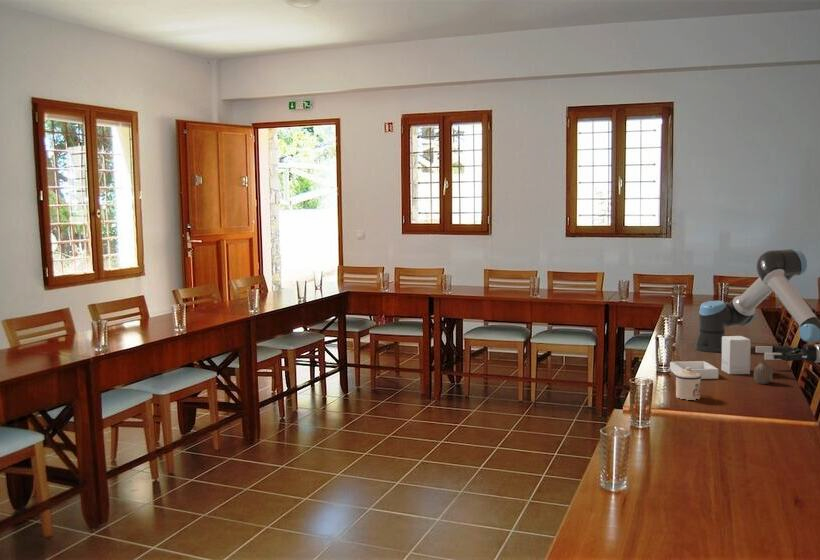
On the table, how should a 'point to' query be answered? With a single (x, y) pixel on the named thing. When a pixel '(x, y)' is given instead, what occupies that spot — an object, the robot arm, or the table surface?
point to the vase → (763, 373)
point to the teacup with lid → (688, 384)
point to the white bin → (696, 368)
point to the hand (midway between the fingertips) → (760, 352)
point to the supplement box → (736, 354)
